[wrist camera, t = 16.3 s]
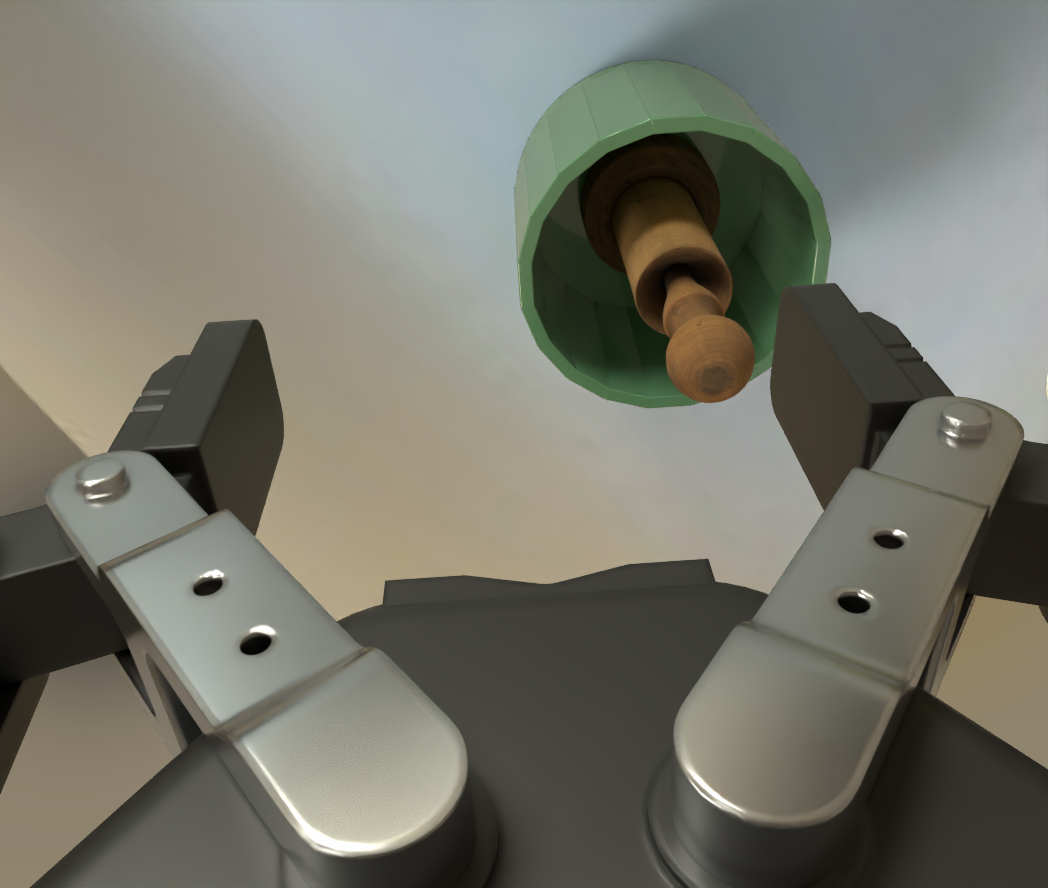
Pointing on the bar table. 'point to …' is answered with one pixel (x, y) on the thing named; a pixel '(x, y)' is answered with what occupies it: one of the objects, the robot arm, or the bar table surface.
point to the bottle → (1047, 387)
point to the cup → (740, 235)
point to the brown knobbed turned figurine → (670, 258)
